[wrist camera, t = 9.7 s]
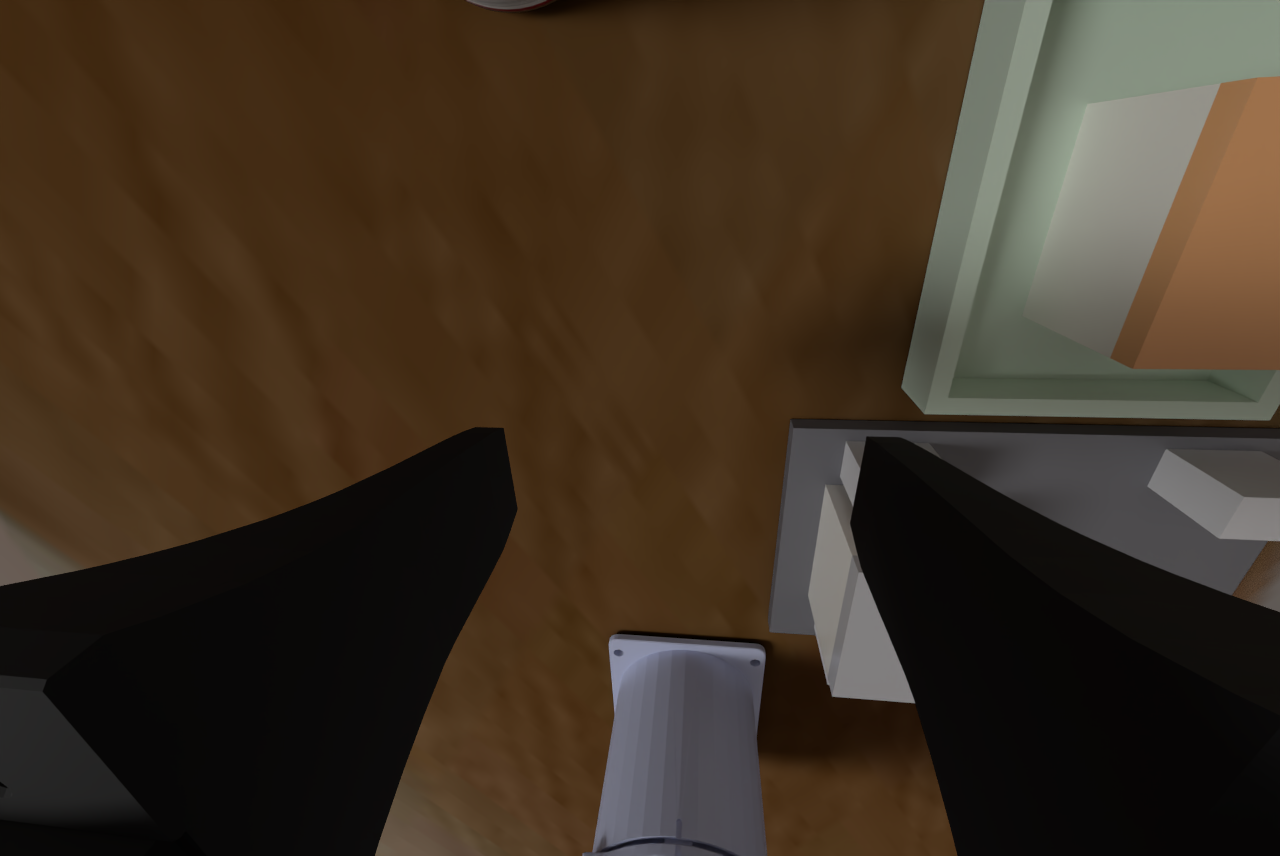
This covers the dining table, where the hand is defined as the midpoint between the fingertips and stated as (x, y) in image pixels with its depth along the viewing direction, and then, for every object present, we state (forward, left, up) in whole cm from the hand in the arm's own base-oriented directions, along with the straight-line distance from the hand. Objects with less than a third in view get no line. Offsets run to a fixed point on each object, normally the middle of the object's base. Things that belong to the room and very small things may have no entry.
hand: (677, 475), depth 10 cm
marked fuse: (+4, -13, -9) cm, 16 cm away
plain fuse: (-9, -8, -9) cm, 15 cm away
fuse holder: (-9, -13, -10) cm, 19 cm away
